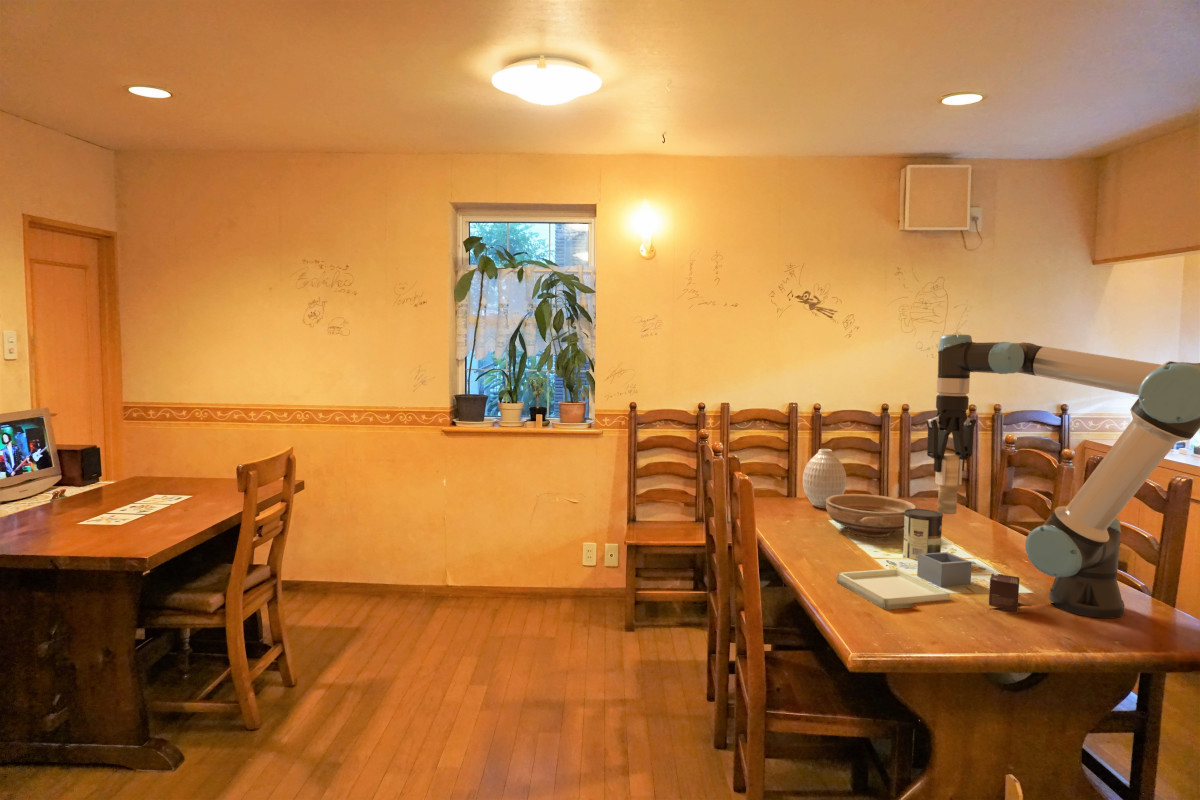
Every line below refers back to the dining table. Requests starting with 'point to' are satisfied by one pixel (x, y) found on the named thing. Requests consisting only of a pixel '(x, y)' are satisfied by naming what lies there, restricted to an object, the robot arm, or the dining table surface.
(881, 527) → the ceramic bowl
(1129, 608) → the dining table surface
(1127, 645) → the dining table surface
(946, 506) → the dowel
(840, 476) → the vase
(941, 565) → the grey square bin
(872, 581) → the tray
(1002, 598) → the box
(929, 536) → the coffee can
